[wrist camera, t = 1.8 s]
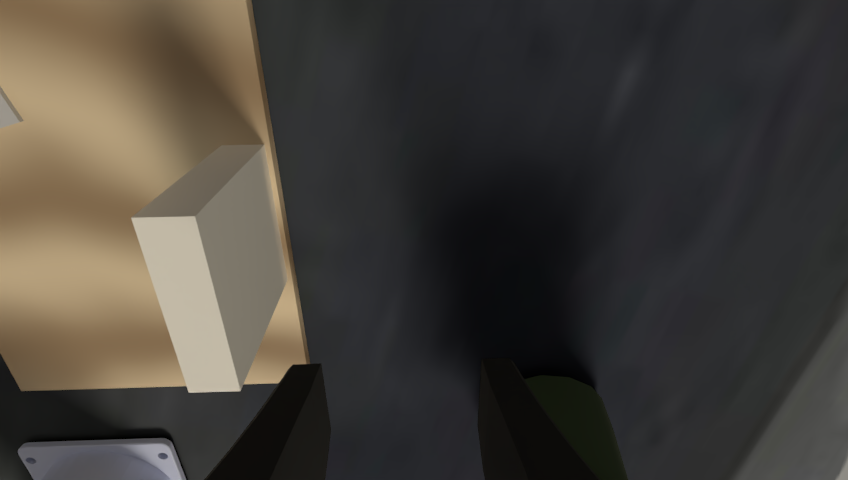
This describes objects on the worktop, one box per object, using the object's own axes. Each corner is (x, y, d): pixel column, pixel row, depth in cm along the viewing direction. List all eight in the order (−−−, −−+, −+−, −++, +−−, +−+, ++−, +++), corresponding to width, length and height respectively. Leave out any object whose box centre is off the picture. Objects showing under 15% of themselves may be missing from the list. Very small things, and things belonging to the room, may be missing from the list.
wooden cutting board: (311, 373, 24) (309, 382, 23) (30, 382, 23) (21, 391, 23) (244, -40, 15) (239, -42, 15) (-194, -36, 15) (-216, -37, 15)
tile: (287, 279, 20) (240, 391, 15) (249, 280, 20) (187, 392, 15) (264, 144, 18) (194, 216, 12) (220, 145, 18) (128, 217, 12)
